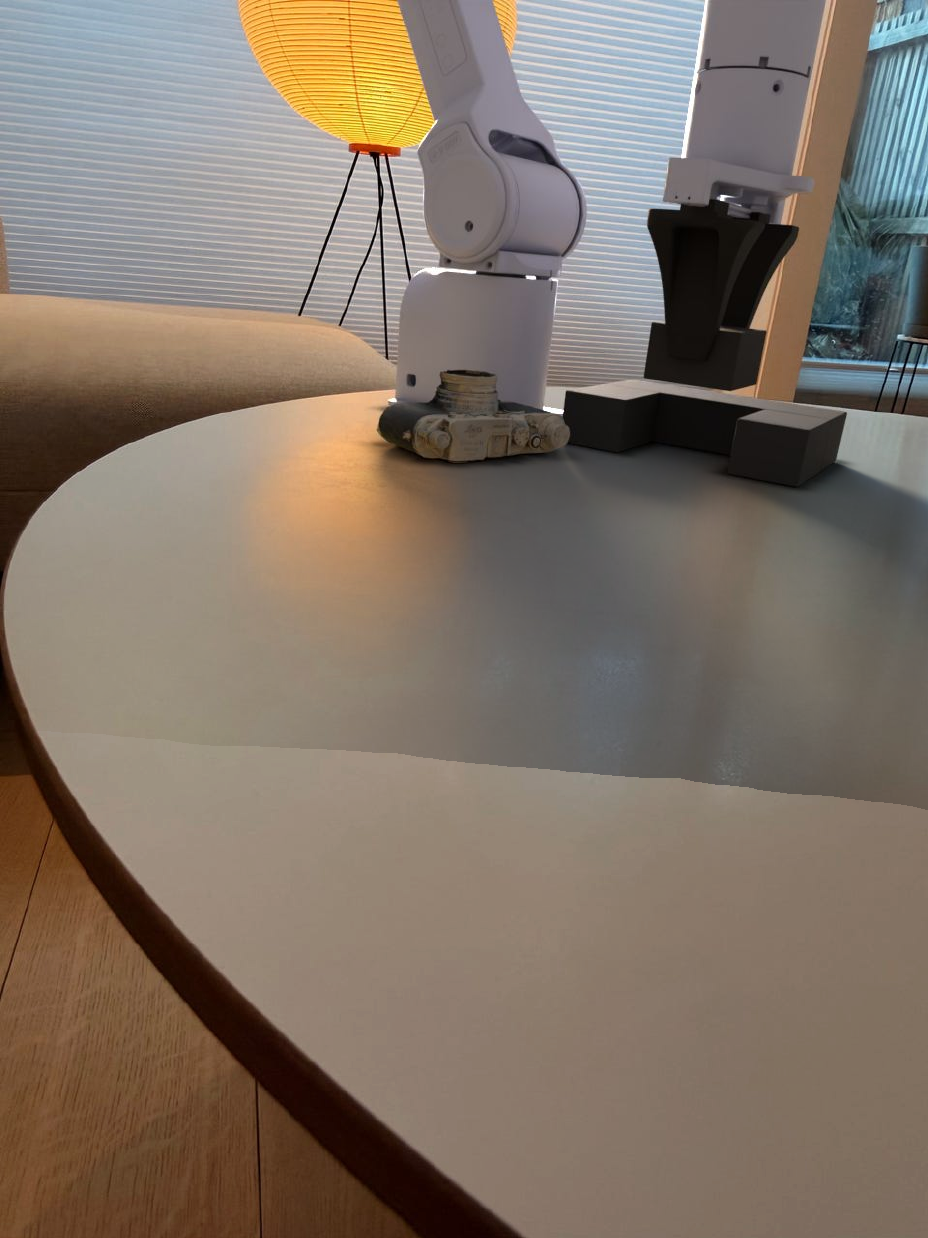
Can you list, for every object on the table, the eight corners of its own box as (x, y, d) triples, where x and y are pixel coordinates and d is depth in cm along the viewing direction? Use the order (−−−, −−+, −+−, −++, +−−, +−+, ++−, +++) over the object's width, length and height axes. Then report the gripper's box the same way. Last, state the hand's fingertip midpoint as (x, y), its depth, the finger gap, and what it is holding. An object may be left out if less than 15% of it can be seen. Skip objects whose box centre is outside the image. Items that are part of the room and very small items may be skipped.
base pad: (559, 441, 55) (565, 390, 54) (624, 423, 64) (630, 378, 62) (797, 487, 49) (810, 430, 48) (836, 461, 57) (847, 411, 56)
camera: (578, 456, 52) (588, 378, 50) (418, 466, 46) (424, 380, 45) (523, 436, 56) (531, 364, 54) (370, 444, 50) (373, 363, 48)
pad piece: (642, 378, 52) (651, 321, 51) (673, 372, 56) (682, 320, 55) (730, 391, 49) (741, 332, 48) (756, 384, 54) (767, 330, 52)
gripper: (797, 45, 39) (736, 373, 44) (860, 103, 51) (806, 359, 56) (641, 48, 43) (600, 354, 48) (733, 103, 54) (693, 344, 59)
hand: (703, 356), depth 52 cm, fingers closed on pad piece, 5 cm apart
